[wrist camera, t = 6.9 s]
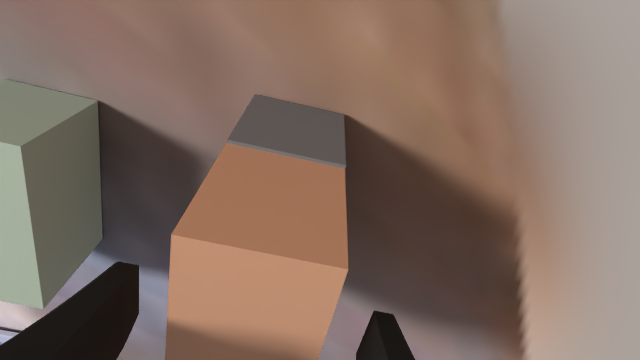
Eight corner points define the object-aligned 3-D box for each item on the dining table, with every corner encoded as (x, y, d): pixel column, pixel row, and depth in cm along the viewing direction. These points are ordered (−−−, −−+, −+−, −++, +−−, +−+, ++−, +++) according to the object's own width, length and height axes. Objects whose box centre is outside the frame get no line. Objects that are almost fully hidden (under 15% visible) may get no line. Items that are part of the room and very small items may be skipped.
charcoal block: (307, 252, 22) (299, 326, 17) (233, 237, 21) (207, 309, 17) (343, 114, 18) (346, 165, 13) (255, 94, 17) (227, 139, 13)
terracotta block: (299, 328, 17) (286, 454, 13) (206, 311, 17) (161, 433, 13) (345, 168, 13) (348, 269, 9) (226, 142, 13) (171, 234, 9)
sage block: (102, 238, 22) (43, 308, 17) (27, 223, 21) (-53, 290, 17) (97, 100, 18) (20, 146, 14) (5, 78, 18) (-104, 118, 13)
